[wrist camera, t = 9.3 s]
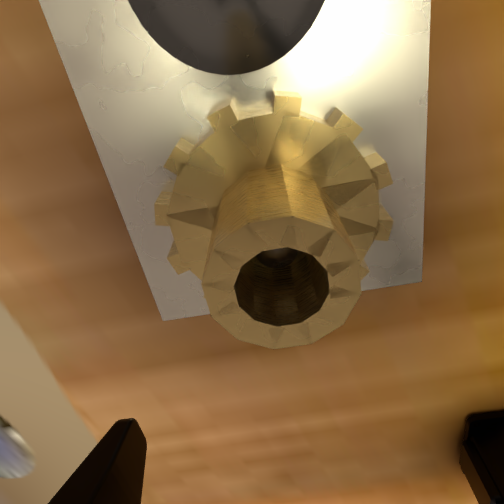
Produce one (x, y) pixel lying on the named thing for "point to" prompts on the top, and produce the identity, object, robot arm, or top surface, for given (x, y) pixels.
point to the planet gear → (275, 218)
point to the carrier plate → (247, 103)
